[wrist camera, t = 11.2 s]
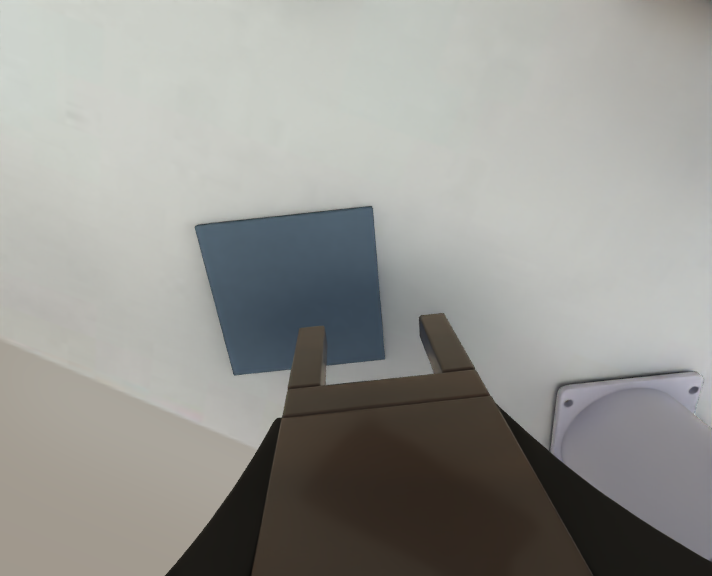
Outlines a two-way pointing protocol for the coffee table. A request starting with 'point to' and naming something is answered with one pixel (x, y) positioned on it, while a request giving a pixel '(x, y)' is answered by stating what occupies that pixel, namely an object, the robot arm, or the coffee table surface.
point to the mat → (295, 286)
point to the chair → (404, 476)
